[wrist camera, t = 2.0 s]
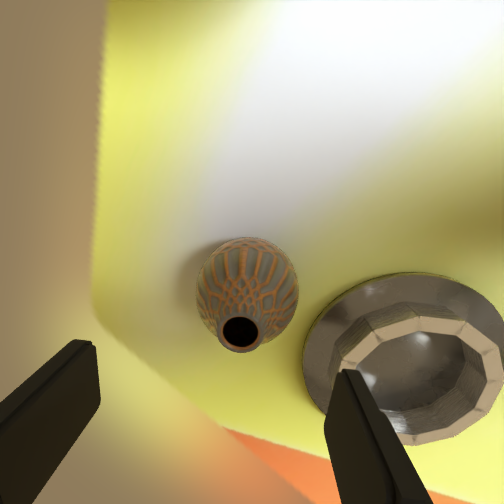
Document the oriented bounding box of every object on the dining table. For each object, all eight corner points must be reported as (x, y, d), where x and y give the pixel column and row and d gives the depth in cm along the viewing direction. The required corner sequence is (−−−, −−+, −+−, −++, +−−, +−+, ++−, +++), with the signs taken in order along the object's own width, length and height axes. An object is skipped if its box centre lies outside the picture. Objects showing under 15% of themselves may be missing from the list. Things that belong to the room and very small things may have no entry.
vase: (215, 308, 22) (183, 389, 14) (204, 231, 20) (159, 272, 12) (294, 304, 21) (311, 387, 13) (291, 225, 19) (309, 264, 11)
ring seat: (536, 285, 20) (581, 304, 17) (459, 440, 25) (484, 475, 22) (320, 260, 20) (329, 274, 17) (289, 417, 25) (292, 448, 22)
